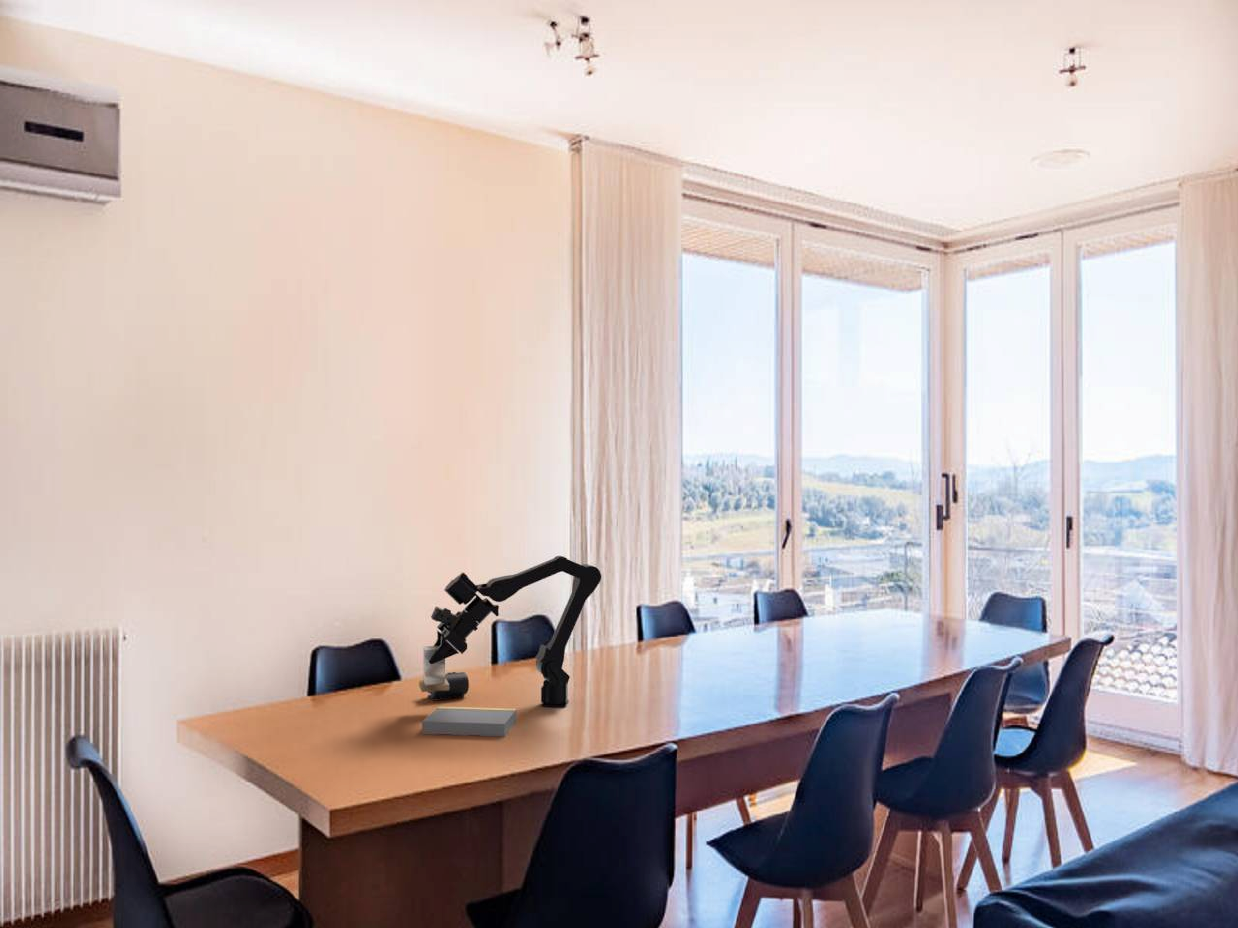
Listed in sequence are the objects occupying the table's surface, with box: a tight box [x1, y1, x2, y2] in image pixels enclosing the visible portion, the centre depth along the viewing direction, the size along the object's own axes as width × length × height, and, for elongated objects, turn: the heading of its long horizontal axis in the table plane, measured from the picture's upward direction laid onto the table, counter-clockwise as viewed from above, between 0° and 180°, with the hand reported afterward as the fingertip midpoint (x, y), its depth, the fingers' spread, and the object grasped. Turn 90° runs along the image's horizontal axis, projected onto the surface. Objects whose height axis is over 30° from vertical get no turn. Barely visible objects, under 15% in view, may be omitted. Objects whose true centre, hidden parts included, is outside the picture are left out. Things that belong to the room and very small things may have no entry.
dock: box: [421, 706, 517, 738], centre depth 228 cm, size 20×14×3 cm
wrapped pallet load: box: [418, 645, 449, 693], centre depth 242 cm, size 7×7×10 cm
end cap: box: [427, 671, 470, 701], centre depth 259 cm, size 10×7×7 cm
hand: (428, 661), depth 242 cm, fingers closed on wrapped pallet load, 5 cm apart
